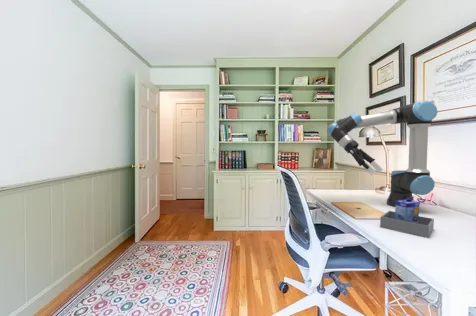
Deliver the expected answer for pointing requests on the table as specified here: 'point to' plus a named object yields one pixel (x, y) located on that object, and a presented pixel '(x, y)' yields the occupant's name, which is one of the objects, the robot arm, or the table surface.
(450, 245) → the table surface
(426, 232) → the box
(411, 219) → the ink cartridge box
